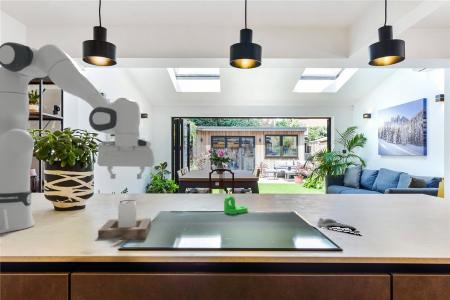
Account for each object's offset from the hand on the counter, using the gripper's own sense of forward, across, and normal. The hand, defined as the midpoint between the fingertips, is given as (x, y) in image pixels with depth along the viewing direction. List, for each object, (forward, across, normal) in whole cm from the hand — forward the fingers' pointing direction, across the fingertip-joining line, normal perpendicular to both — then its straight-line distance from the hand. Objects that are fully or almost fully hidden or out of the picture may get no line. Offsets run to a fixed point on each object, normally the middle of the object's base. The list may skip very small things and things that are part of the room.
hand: (126, 178), depth 110 cm
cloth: (+20, +84, +2) cm, 87 cm away
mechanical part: (+20, +49, +34) cm, 62 cm away
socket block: (+20, +1, 0) cm, 20 cm away
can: (+21, +1, +1) cm, 21 cm away
